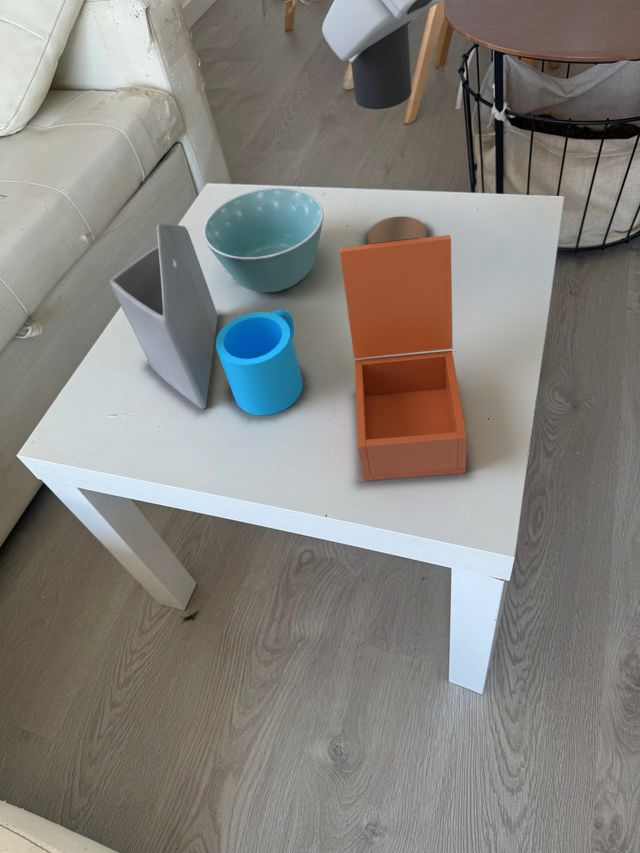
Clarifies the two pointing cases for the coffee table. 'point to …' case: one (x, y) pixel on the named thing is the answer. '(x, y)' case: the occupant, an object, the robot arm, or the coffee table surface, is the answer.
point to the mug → (261, 361)
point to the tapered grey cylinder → (383, 72)
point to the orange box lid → (399, 296)
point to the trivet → (396, 230)
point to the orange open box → (409, 416)
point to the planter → (171, 312)
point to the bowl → (266, 237)
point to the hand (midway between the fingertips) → (374, 38)
